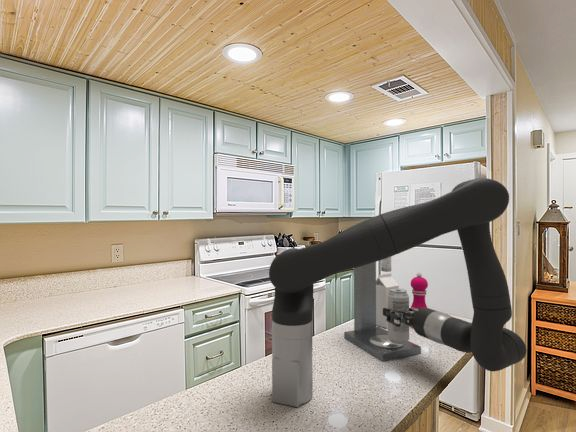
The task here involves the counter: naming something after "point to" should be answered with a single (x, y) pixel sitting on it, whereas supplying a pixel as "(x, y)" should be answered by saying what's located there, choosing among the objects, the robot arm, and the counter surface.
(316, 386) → the counter surface
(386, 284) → the milk carton
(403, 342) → the energy drink can
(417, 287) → the pepper mill
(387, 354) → the arbor press
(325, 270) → the robot arm
